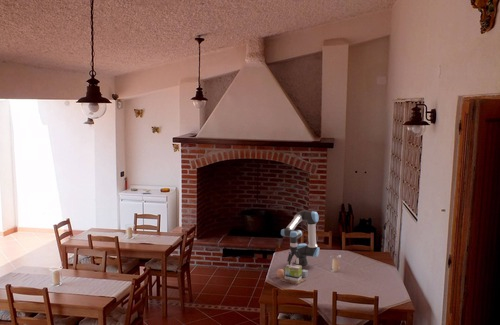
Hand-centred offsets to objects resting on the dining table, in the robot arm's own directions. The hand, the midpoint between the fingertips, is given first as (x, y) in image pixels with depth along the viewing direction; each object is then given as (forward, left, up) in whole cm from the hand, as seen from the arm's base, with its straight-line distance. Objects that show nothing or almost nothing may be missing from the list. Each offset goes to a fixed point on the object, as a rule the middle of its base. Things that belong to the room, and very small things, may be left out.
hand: (293, 265), depth 467 cm
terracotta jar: (+1, -16, -16) cm, 23 cm away
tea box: (+1, 0, -15) cm, 15 cm away
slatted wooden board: (0, 0, -16) cm, 16 cm away
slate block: (-18, +2, -16) cm, 24 cm away
